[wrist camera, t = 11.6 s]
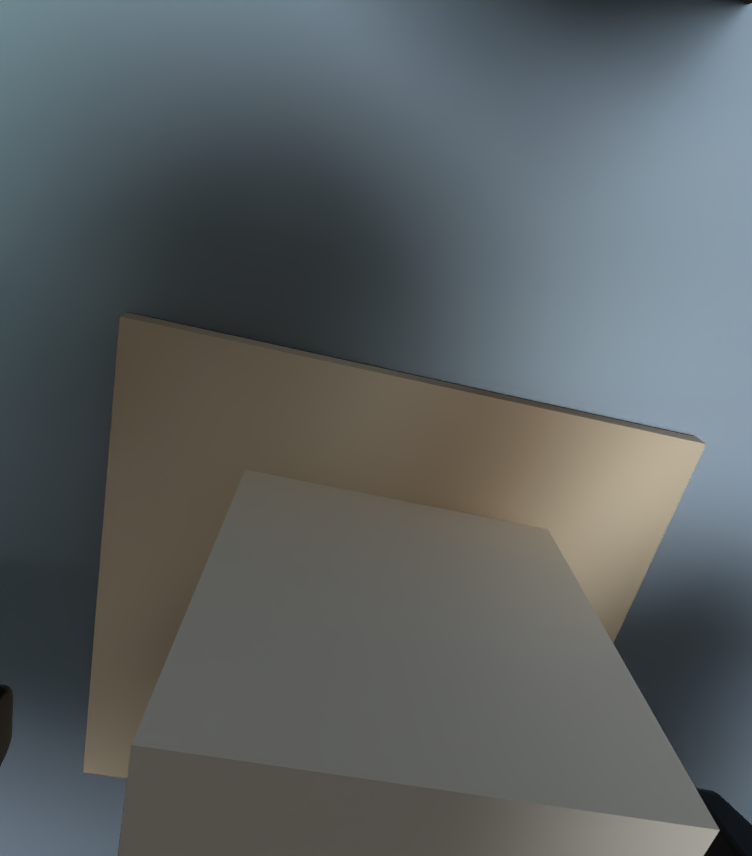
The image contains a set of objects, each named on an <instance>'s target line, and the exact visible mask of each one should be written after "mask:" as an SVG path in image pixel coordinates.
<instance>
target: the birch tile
mask: <svg viewBox="0 0 752 856" xmlns="http://www.w3.org/2000/svg"><path fill="white" fill-rule="evenodd" d="M705 446H706V444H705V443H704V442H703V441H701V440H700V439H698V438H697V437H694V436H690V435H685V434H681V433H676V432H672V431H667V430H662V429H658V428H653V427H649V426H644V425H640V424H635V423H630V422H626V421H621V420H617V419H612V418H608V417H603V416H598V415H594V414H589V413H585V412H580V411H576V410H571V409H566V408H562V407H557V406H553V405H548V404H544V403H539V402H534V401H530V400H525V399H521V398H516V397H512V396H507V395H502V394H498V393H493V392H489V391H484V390H480V389H475V388H470V387H466V386H461V385H457V384H452V383H448V382H443V381H438V380H434V379H429V378H425V377H420V376H416V375H411V374H406V373H402V372H397V371H393V370H388V369H384V368H379V367H374V366H370V365H365V364H361V363H356V362H352V361H347V360H342V359H338V358H333V357H329V356H324V355H320V354H315V353H310V352H306V351H301V350H297V349H292V348H288V347H283V346H278V345H274V344H269V343H265V342H260V341H256V340H251V339H246V338H242V337H237V336H233V335H228V334H224V333H219V332H214V331H210V330H205V329H201V328H196V327H192V326H187V325H182V324H178V323H173V322H169V321H164V320H160V319H155V318H150V317H146V316H141V315H137V314H132V313H128V312H127V313H125V314H123V315H121V316H120V318H119V330H118V343H117V355H116V367H115V380H114V392H113V405H112V417H111V430H110V442H109V455H108V467H107V479H106V492H105V504H104V517H103V529H102V542H101V554H100V567H99V579H98V591H97V604H96V616H95V629H94V641H93V654H92V666H91V678H90V691H89V703H88V716H87V728H86V741H85V753H84V766H83V772H84V773H91V774H98V775H106V776H113V777H120V778H127V775H128V767H129V759H130V751H131V744H132V742H133V739H134V737H135V735H136V732H137V730H138V727H139V725H140V722H141V720H142V718H143V715H144V713H145V710H146V708H147V706H148V703H149V701H150V698H151V696H152V693H153V691H154V689H155V686H156V684H157V681H158V679H159V677H160V674H161V672H162V669H163V667H164V664H165V662H166V660H167V657H168V655H169V652H170V650H171V648H172V645H173V643H174V640H175V638H176V635H177V633H178V631H179V628H180V626H181V623H182V621H183V619H184V616H185V614H186V611H187V609H188V606H189V604H190V602H191V599H192V597H193V594H194V592H195V590H196V587H197V585H198V582H199V580H200V577H201V575H202V573H203V570H204V568H205V565H206V563H207V561H208V558H209V556H210V553H211V551H212V548H213V546H214V544H215V541H216V539H217V536H218V534H219V532H220V529H221V527H222V524H223V522H224V519H225V517H226V515H227V512H228V510H229V507H230V505H231V503H232V500H233V498H234V495H235V493H236V490H237V488H238V486H239V483H240V481H241V478H242V476H243V473H244V471H245V469H246V470H251V471H256V472H261V473H266V474H271V475H276V476H281V477H286V478H291V479H296V480H301V481H306V482H311V483H316V484H321V485H326V486H332V487H337V488H342V489H347V490H352V491H357V492H362V493H367V494H372V495H377V496H382V497H387V498H392V499H397V500H402V501H407V502H412V503H417V504H422V505H427V506H432V507H437V508H442V509H447V510H452V511H457V512H463V513H468V514H473V515H478V516H483V517H488V518H493V519H498V520H503V521H508V522H513V523H518V524H523V525H528V526H533V527H538V528H543V529H548V530H549V532H550V534H551V535H552V537H553V539H554V541H555V542H556V544H557V546H558V548H559V549H560V551H561V553H562V555H563V556H564V558H565V560H566V562H567V563H568V565H569V567H570V569H571V570H572V572H573V574H574V576H575V577H576V579H577V581H578V583H579V584H580V586H581V588H582V590H583V591H584V593H585V595H586V597H587V598H588V600H589V602H590V604H591V605H592V607H593V609H594V611H595V612H596V614H597V616H598V618H599V619H600V621H601V623H602V625H603V626H604V628H605V630H606V632H607V633H608V635H609V637H610V639H611V641H612V642H613V644H614V642H615V639H616V637H617V635H618V633H619V631H620V629H621V626H622V624H623V622H624V620H625V618H626V616H627V614H628V611H629V609H630V607H631V605H632V603H633V601H634V598H635V596H636V594H637V592H638V590H639V588H640V586H641V583H642V581H643V579H644V577H645V575H646V573H647V570H648V568H649V566H650V564H651V562H652V560H653V558H654V555H655V553H656V551H657V549H658V547H659V545H660V542H661V540H662V538H663V536H664V534H665V532H666V530H667V527H668V525H669V523H670V521H671V519H672V517H673V514H674V512H675V510H676V508H677V506H678V504H679V502H680V499H681V497H682V495H683V493H684V491H685V489H686V487H687V484H688V482H689V480H690V478H691V476H692V474H693V471H694V469H695V467H696V465H697V463H698V461H699V459H700V456H701V454H702V452H703V450H704V448H705Z"/></svg>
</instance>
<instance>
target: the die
mask: <svg viewBox="0 0 752 856" xmlns="http://www.w3.org/2000/svg"><path fill="white" fill-rule="evenodd" d="M719 831H720V830H719V828H718V826H717V824H716V823H715V821H714V819H713V817H712V816H711V814H710V812H709V810H708V809H707V807H706V805H705V803H704V802H703V800H702V798H701V796H700V795H699V793H698V791H697V789H696V788H695V786H694V784H693V782H692V781H691V779H690V777H689V775H688V774H687V772H686V770H685V768H684V767H683V765H682V763H681V761H680V760H679V758H678V756H677V754H676V753H675V751H674V749H673V747H672V746H671V744H670V742H669V740H668V739H667V737H666V735H665V733H664V732H663V730H662V728H661V726H660V725H659V723H658V721H657V719H656V718H655V716H654V714H653V712H652V711H651V709H650V707H649V705H648V704H647V702H646V700H645V698H644V697H643V695H642V693H641V691H640V690H639V688H638V686H637V684H636V683H635V681H634V679H633V677H632V676H631V674H630V672H629V670H628V669H627V667H626V665H625V663H624V662H623V660H622V658H621V656H620V655H619V653H618V651H617V649H616V648H615V646H614V644H613V642H612V641H611V639H610V637H609V635H608V633H607V632H606V630H605V628H604V626H603V625H602V623H601V621H600V619H599V618H598V616H597V614H596V612H595V611H594V609H593V607H592V605H591V604H590V602H589V600H588V598H587V597H586V595H585V593H584V591H583V590H582V588H581V586H580V584H579V583H578V581H577V579H576V577H575V576H574V574H573V572H572V570H571V569H570V567H569V565H568V563H567V562H566V560H565V558H564V556H563V555H562V553H561V551H560V549H559V548H558V546H557V544H556V542H555V541H554V539H553V537H552V535H551V534H550V532H549V530H548V529H543V528H538V527H533V526H528V525H523V524H518V523H513V522H508V521H503V520H498V519H493V518H488V517H483V516H478V515H473V514H468V513H463V512H457V511H452V510H447V509H442V508H437V507H432V506H427V505H422V504H417V503H412V502H407V501H402V500H397V499H392V498H387V497H382V496H377V495H372V494H367V493H362V492H357V491H352V490H347V489H342V488H337V487H332V486H326V485H321V484H316V483H311V482H306V481H301V480H296V479H291V478H286V477H281V476H276V475H271V474H266V473H261V472H256V471H251V470H246V469H245V471H244V473H243V476H242V478H241V481H240V483H239V486H238V488H237V490H236V493H235V495H234V498H233V500H232V503H231V505H230V507H229V510H228V512H227V515H226V517H225V519H224V522H223V524H222V527H221V529H220V532H219V534H218V536H217V539H216V541H215V544H214V546H213V548H212V551H211V553H210V556H209V558H208V561H207V563H206V565H205V568H204V570H203V573H202V575H201V577H200V580H199V582H198V585H197V587H196V590H195V592H194V594H193V597H192V599H191V602H190V604H189V606H188V609H187V611H186V614H185V616H184V619H183V621H182V623H181V626H180V628H179V631H178V633H177V635H176V638H175V640H174V643H173V645H172V648H171V650H170V652H169V655H168V657H167V660H166V662H165V664H164V667H163V669H162V672H161V674H160V677H159V679H158V681H157V684H156V686H155V689H154V691H153V693H152V696H151V698H150V701H149V703H148V706H147V708H146V710H145V713H144V715H143V718H142V720H141V722H140V725H139V727H138V730H137V732H136V735H135V737H134V739H133V742H132V744H131V751H130V759H129V767H128V775H127V784H126V792H125V800H124V808H123V816H122V824H121V833H120V841H119V849H118V856H704V854H705V853H706V851H707V850H708V848H709V846H710V845H711V843H712V842H713V840H714V839H715V837H716V835H717V834H718V832H719Z"/></svg>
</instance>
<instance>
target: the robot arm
mask: <svg viewBox="0 0 752 856" xmlns="http://www.w3.org/2000/svg"><path fill="white" fill-rule="evenodd" d="M12 709H13V694H12V690H11V688H10V687H9V686H6V685H1V684H0V766H1V764H2V762H3V760H4V758H5V755H6V753H7V751H8V748H9V745H10V742H11V737H12ZM696 789H697V791H698V793H699V795H700V796H701V798H702V800H703V802H704V803H705V805H706V807H707V809H708V810H709V812H710V814H711V816H712V817H713V819H714V821H715V823H716V824H717V826H718V828H719V830H720V831H719V832H718V834H717V835H716V837H715V839H714V840H713V842H712V843H711V845H710V846H709V848H708V850H707V851H706V853H705V854H704V856H752V825H751V824H750V823H749V822H748V821H747V820H746V819H745V818H744V817H743V816H742V815H741V814H740V813H738V812H737V811H736V810H735V809H734V808H733V807H732V806H731V805H730V804H729V803H728V802H727V801H725V800H724V799H723V798H722V797H721V796H720V795H719V794H717V793H715V792H713V791H710V790H704V789H698V788H696Z"/></svg>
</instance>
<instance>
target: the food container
mask: <svg viewBox="0 0 752 856" xmlns="http://www.w3.org/2000/svg"><path fill="white" fill-rule="evenodd" d="M741 1H743V2H744V3H746V4H750V3H752V0H741Z"/></svg>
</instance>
